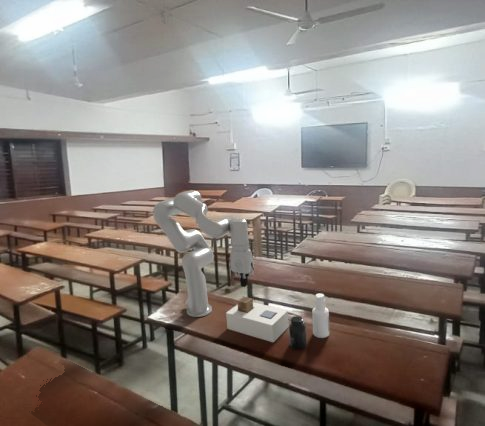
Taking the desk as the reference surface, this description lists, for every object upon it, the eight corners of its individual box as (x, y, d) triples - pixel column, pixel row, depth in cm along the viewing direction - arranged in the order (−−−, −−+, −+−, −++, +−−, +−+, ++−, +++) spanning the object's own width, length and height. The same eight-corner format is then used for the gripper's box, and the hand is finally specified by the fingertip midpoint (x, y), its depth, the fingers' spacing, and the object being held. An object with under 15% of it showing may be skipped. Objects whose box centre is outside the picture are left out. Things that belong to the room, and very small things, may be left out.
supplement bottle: (287, 348, 150) (285, 321, 148) (293, 339, 156) (291, 313, 153) (303, 351, 147) (302, 324, 144) (308, 342, 153) (307, 316, 150)
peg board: (227, 328, 168) (226, 312, 167) (244, 314, 180) (243, 299, 178) (273, 342, 155) (272, 325, 153) (288, 326, 166) (287, 310, 164)
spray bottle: (332, 332, 158) (331, 294, 154) (324, 340, 154) (322, 300, 150) (318, 327, 163) (317, 290, 159) (310, 334, 158) (308, 296, 154)
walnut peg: (238, 314, 169) (237, 301, 167) (244, 309, 173) (243, 296, 171) (247, 316, 166) (246, 303, 164) (253, 311, 170) (252, 298, 168)
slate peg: (261, 328, 163) (260, 315, 161) (267, 323, 167) (266, 310, 165) (271, 331, 160) (270, 317, 159) (276, 325, 164) (276, 312, 163)
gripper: (221, 247, 163) (226, 286, 167) (250, 251, 155) (253, 291, 159) (231, 242, 169) (235, 280, 173) (259, 245, 161) (263, 285, 165)
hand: (244, 285), depth 166 cm, fingers closed
